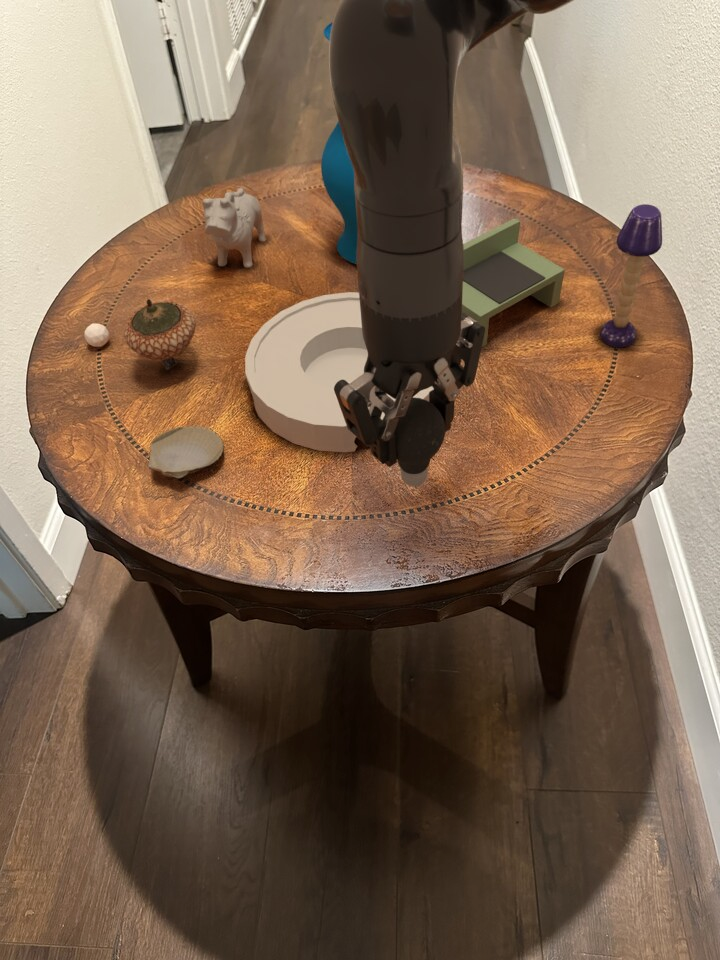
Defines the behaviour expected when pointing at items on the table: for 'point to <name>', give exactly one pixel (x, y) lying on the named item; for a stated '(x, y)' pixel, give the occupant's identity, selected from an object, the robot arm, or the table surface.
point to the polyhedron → (96, 335)
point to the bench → (505, 274)
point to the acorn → (160, 331)
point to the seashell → (184, 450)
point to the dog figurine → (233, 224)
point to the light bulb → (418, 440)
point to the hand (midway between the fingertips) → (413, 442)
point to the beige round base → (309, 370)
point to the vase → (341, 186)
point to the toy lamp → (633, 269)
